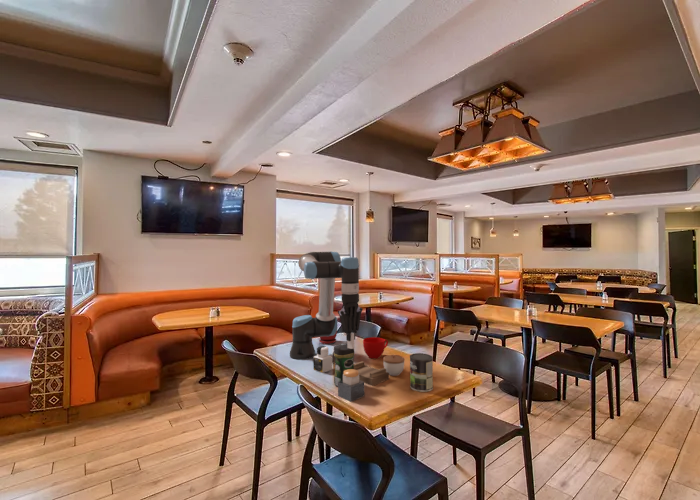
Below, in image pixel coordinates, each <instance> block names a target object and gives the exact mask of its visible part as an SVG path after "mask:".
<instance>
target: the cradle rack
mask: <svg viewBox="0 0 700 500" xmlns="http://www.w3.org/2000/svg"><path fill="white" fill-rule="evenodd" d="M354 369H355V370H358V374H359V380H360V381H363V382H364V384H366V385H369V386H372V387H373V386H375V385H378V384H381V383H383V382H386V381H387V380H390V375H389V373H388V372H386V369H385V368H384V367H382V368H379V369H378V368H375V367H374V366H373V367H372V366H368V365H366V364H365V361H359V362H356V363H354Z"/></svg>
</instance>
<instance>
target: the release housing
mask: <svg viewBox="0 0 700 500" xmlns="http://www.w3.org/2000/svg"><path fill="white" fill-rule="evenodd" d="M337 396H338V397H339V398H342V399H344V400H346V401H349V402H354V401H357V400H358V399H361V398H363V397H365V383H364V382H363V381H360V380H359V383H356V384H354V385H351V386H350V385H348V384H346V383H343V380H342V381H339V382H338V387H337Z"/></svg>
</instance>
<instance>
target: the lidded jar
mask: <svg viewBox="0 0 700 500" xmlns="http://www.w3.org/2000/svg"><path fill="white" fill-rule="evenodd" d="M382 360H383V362H382V363H383V368H385V369H386V372H388V373H389V376H392V377H393V376H394V377H395V376H400V375H401V373H402V372H403V371H404V368H405V357H403V356H400V355H396V354H391V355H390V354H389V355H385V356H383V359H382Z"/></svg>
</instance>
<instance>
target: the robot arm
mask: <svg viewBox="0 0 700 500" xmlns="http://www.w3.org/2000/svg"><path fill="white" fill-rule="evenodd" d="M359 263H360V262H359V258H358V257H354V256H352V257H351V256H350V257H345V256H344V257H342V258H341V255H340V253H339V252H337V251H310V252H306V253H304V254H303V255H301V256H300V257H299V259H298V267H299V269H300V270H301V271H303V276H304V278H305V279H310V280H314V279H317V280H318V279H320V281H319V283H320V284H319V298H318V299H319V302H318V312H317V313H316V314H315V317H313V316H312V315H310V314H305V315H300V316H296V317H294V318H293V320H292V326H291V327H292V344H291V348H290V350H289V357H290V359H294V360H305V359H311V358H313V357H314V356H316V350H315V347H314V344H313V338H320V337H324V336H327V337H328V336H333V335H335V333H336V331H337V332H338V318H337V317H336V315H335V313H334V300H335V289H336V288H335V285H336V279H341V293H342V294H341V302H342V305H341V309H340V310H337V314H338V316H339V319H340V324H341V330H342V333H346V334H345V335H346V337H345V338H346V342H347V343H346V344H347V348H350V349H354V350H355V340H356V334H357V333H358V332H357V331H359V329H360V323H361V317H362V316H361V315H362V312H363V307H360V305H359V302H360V293H359V291H360V282H359V281H360V277H359V276H360V274H359V273H360V269H359V268H360V264H359Z"/></svg>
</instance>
